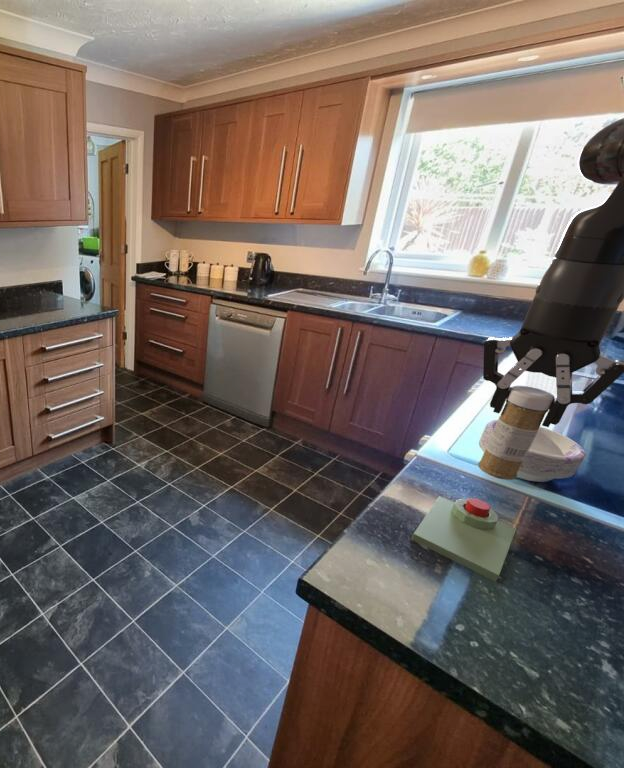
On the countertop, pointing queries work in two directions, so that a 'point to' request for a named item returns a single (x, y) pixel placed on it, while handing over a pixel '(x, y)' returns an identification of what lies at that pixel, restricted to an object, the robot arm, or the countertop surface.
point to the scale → (466, 536)
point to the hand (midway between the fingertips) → (520, 417)
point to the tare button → (477, 507)
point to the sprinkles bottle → (515, 431)
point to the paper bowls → (545, 455)
